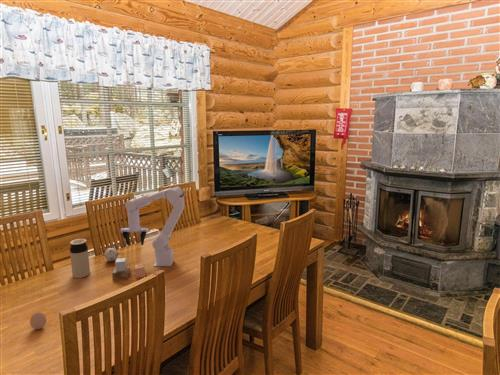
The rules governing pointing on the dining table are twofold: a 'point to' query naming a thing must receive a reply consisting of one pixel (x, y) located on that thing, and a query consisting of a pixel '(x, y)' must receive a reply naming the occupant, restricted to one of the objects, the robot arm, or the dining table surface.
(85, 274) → the travel mug
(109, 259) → the pale grey round lump
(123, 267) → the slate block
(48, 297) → the dining table surface
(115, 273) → the walnut base
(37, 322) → the egg
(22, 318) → the dining table surface
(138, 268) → the terracotta block
